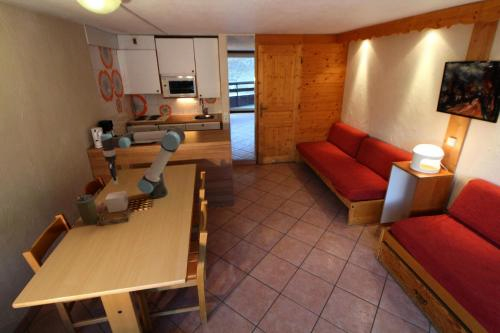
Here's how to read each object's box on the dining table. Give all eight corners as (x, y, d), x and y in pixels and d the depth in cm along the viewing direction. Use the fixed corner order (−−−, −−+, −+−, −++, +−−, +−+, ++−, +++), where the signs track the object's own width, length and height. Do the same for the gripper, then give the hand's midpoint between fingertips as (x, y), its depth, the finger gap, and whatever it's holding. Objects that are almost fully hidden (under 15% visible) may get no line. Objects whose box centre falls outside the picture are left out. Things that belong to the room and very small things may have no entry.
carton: (128, 203, 196) (125, 190, 192) (126, 209, 187) (123, 196, 183) (111, 205, 192) (107, 193, 188) (108, 212, 183) (105, 199, 179)
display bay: (130, 211, 185) (129, 207, 184) (128, 221, 173) (127, 217, 171) (102, 215, 180) (101, 211, 179) (98, 226, 167) (97, 222, 166)
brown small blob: (105, 207, 190) (104, 200, 188) (104, 211, 185) (102, 204, 183) (96, 208, 189) (95, 201, 186) (95, 212, 183) (93, 205, 181)
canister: (91, 226, 168) (84, 200, 160) (78, 224, 170) (70, 198, 162) (103, 217, 178) (96, 192, 170) (90, 215, 180) (83, 190, 172)
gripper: (106, 152, 189) (112, 181, 197) (102, 158, 177) (109, 188, 186) (117, 151, 191) (122, 180, 200) (114, 157, 179) (120, 186, 188)
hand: (116, 183), depth 193 cm, fingers closed
